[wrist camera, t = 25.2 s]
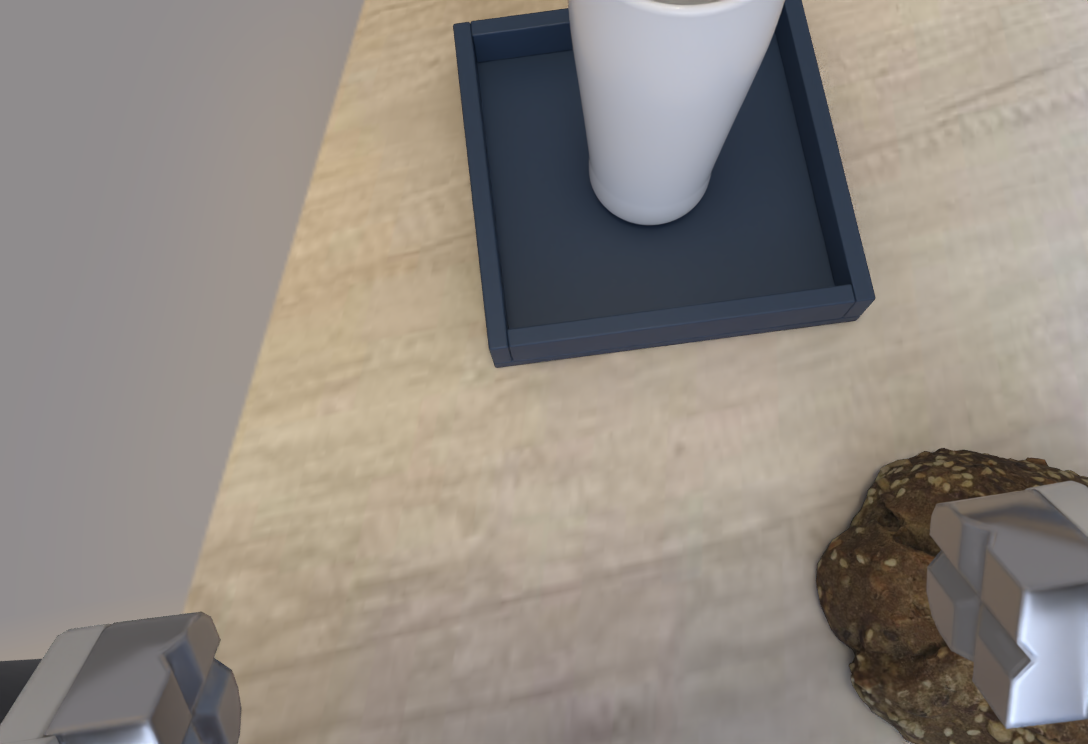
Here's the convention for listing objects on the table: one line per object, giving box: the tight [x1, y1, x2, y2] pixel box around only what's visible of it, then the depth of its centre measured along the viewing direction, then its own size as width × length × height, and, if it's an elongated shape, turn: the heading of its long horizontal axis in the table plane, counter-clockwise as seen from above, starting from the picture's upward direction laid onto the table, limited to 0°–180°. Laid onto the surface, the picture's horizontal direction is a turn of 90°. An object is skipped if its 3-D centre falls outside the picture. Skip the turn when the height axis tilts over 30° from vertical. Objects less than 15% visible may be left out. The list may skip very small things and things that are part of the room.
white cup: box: [568, 0, 785, 225], centre depth 32 cm, size 7×7×15 cm
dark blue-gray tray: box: [453, 0, 875, 368], centre depth 38 cm, size 16×16×3 cm
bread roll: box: [816, 448, 1088, 744], centre depth 31 cm, size 13×12×5 cm
